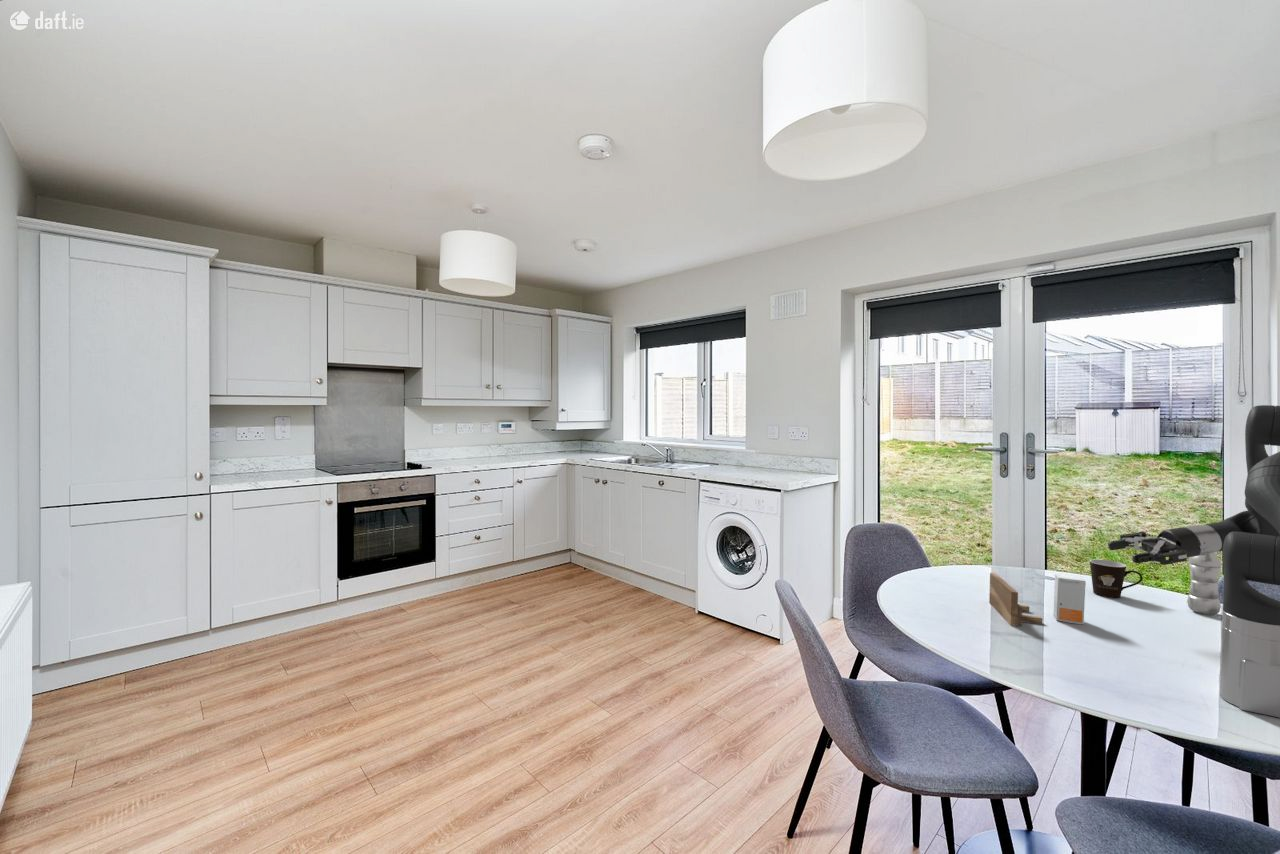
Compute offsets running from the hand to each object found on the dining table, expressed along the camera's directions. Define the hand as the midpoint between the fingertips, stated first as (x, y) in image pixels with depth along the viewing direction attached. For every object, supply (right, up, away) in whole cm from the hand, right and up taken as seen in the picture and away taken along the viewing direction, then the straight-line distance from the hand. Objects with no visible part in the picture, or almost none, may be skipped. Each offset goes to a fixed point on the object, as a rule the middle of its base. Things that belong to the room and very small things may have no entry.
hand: (1120, 552), depth 142 cm
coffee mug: (+19, -19, +25) cm, 37 cm away
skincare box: (-10, -20, +5) cm, 23 cm away
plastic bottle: (+33, -20, +11) cm, 40 cm away
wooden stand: (-21, -20, +9) cm, 30 cm away
